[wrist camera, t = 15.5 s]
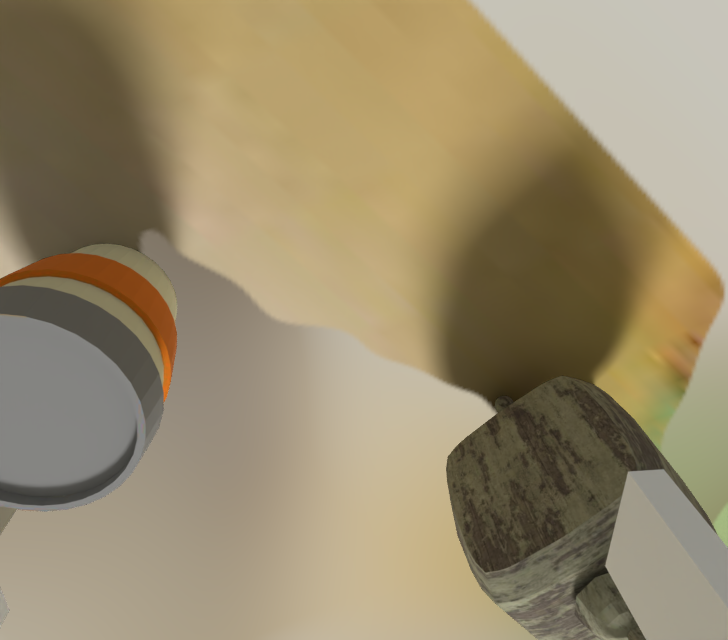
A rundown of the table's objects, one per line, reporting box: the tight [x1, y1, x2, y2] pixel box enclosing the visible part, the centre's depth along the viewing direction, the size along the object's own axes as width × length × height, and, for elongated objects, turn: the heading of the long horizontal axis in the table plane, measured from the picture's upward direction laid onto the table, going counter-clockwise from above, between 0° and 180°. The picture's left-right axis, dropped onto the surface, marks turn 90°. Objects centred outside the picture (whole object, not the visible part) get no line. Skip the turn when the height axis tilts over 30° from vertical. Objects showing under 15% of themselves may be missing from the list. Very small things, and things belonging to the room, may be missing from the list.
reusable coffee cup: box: [0, 244, 177, 511], centre depth 36 cm, size 13×13×15 cm
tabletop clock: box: [446, 376, 717, 640], centre depth 38 cm, size 14×9×25 cm, turn 131°
